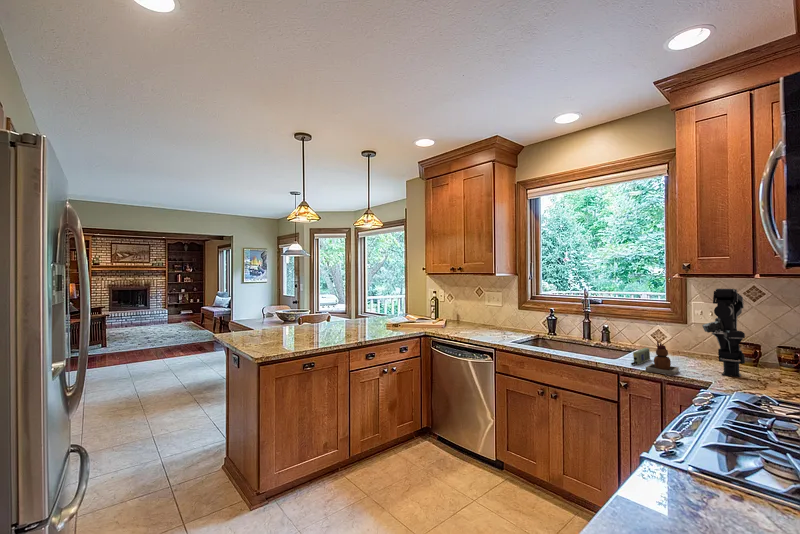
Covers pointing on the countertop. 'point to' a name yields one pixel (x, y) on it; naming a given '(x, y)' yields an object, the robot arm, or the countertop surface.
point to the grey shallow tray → (662, 370)
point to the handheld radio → (641, 356)
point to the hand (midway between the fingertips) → (727, 351)
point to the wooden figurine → (662, 358)
